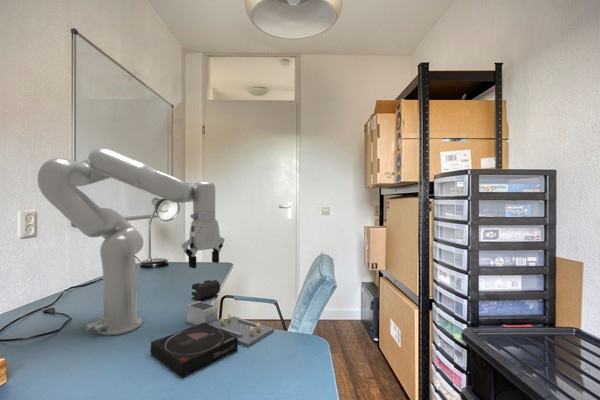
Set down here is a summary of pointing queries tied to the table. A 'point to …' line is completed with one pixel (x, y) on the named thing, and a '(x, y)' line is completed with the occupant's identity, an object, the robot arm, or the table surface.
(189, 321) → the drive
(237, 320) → the grey pegged fixture plate
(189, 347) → the portable cd player
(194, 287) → the end cap
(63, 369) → the table surface
